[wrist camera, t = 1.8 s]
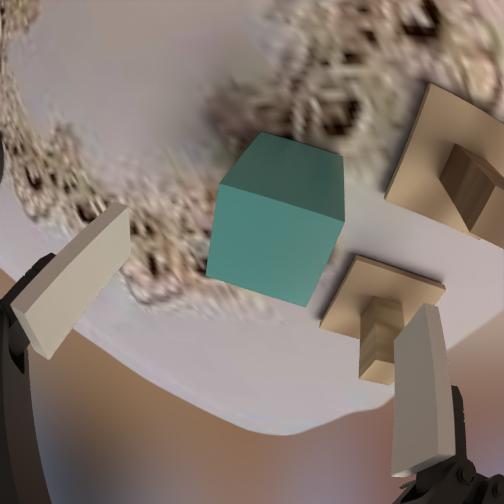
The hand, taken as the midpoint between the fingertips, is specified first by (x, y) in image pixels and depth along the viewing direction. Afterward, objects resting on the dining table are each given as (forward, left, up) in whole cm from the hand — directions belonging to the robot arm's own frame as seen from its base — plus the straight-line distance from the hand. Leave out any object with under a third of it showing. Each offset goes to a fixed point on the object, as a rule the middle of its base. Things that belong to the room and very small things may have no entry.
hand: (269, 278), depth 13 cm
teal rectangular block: (0, 0, -9) cm, 9 cm away
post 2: (+10, +5, -9) cm, 14 cm away
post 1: (+10, -8, -9) cm, 15 cm away
